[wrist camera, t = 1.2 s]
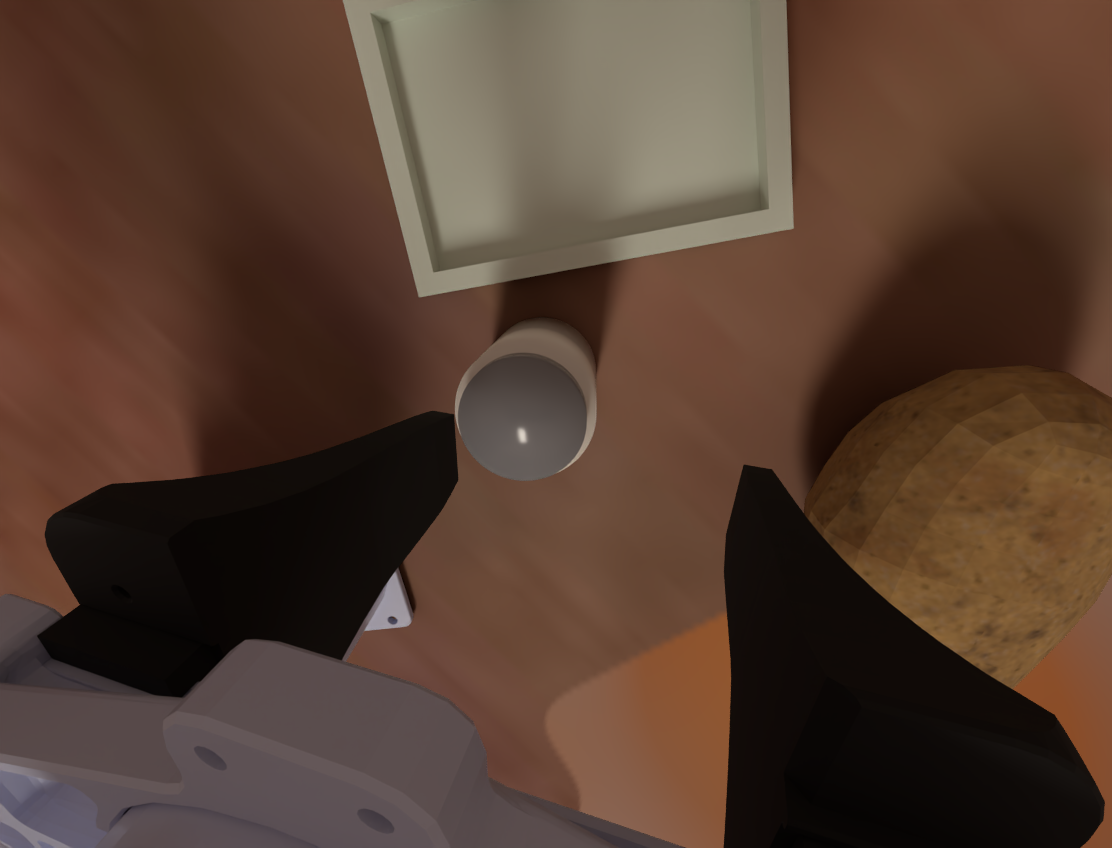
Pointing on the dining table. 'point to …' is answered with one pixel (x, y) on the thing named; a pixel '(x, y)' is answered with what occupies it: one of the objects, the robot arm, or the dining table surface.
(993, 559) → the potato
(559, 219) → the tray
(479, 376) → the shaker
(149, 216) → the dining table surface
